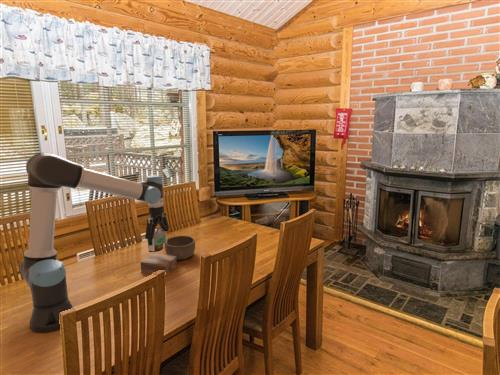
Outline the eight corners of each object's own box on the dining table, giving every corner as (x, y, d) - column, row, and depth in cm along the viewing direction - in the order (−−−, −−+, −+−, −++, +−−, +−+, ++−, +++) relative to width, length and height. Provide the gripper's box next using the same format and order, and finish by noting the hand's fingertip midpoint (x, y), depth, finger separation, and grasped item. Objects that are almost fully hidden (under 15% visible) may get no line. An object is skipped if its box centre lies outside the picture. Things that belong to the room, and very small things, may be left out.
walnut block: (165, 276, 169) (164, 265, 167) (141, 272, 173) (140, 261, 172) (176, 266, 180) (176, 256, 179) (154, 263, 184) (153, 253, 183)
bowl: (174, 265, 181) (173, 248, 179) (159, 255, 195) (159, 239, 193) (201, 257, 192) (201, 241, 190) (186, 248, 206) (185, 233, 204)
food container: (158, 254, 168) (157, 235, 166) (147, 253, 169) (146, 234, 167) (169, 245, 180) (168, 227, 178) (158, 244, 181) (157, 227, 179)
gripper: (149, 212, 157) (151, 256, 162) (174, 201, 179) (176, 239, 184) (135, 211, 160) (138, 254, 164) (162, 200, 182) (164, 238, 186)
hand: (158, 246), depth 174 cm, fingers closed on food container, 11 cm apart
